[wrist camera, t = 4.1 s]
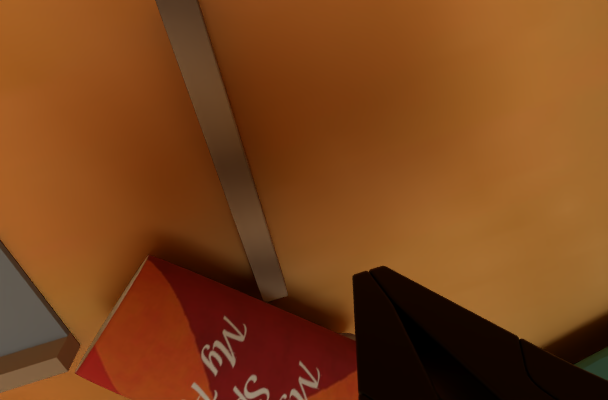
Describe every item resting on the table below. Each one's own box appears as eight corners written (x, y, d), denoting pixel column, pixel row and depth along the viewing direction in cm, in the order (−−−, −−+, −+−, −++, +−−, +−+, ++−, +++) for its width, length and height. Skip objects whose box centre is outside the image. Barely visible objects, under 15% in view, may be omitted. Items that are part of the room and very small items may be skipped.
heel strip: (284, 279, 22) (287, 295, 20) (261, 286, 21) (263, 303, 20) (196, -4, 14) (193, -9, 13) (161, 3, 14) (155, -1, 13)
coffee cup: (115, 317, 11) (417, 443, 16) (177, 208, 19) (372, 316, 24) (28, 446, 14) (312, 522, 19) (113, 305, 21) (301, 385, 26)
